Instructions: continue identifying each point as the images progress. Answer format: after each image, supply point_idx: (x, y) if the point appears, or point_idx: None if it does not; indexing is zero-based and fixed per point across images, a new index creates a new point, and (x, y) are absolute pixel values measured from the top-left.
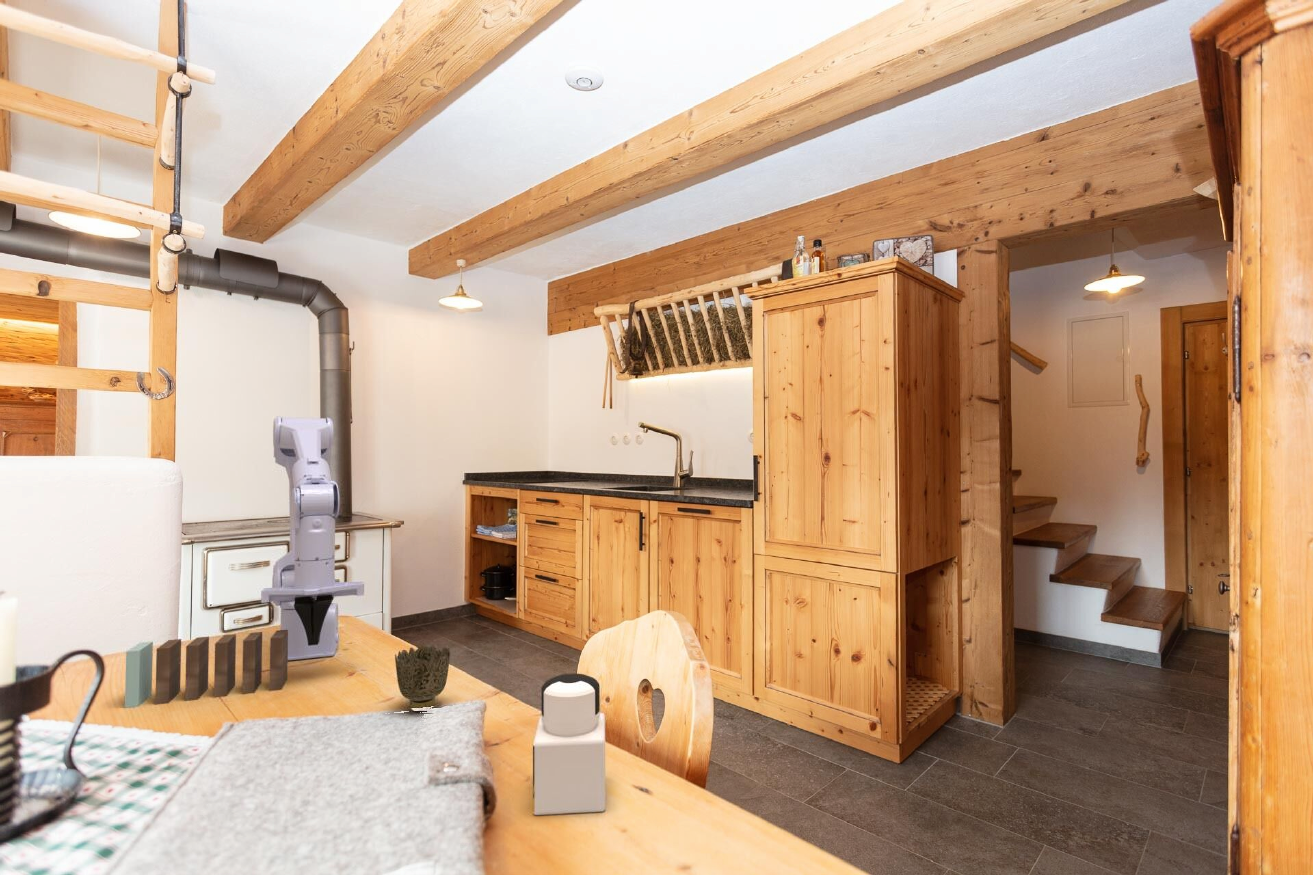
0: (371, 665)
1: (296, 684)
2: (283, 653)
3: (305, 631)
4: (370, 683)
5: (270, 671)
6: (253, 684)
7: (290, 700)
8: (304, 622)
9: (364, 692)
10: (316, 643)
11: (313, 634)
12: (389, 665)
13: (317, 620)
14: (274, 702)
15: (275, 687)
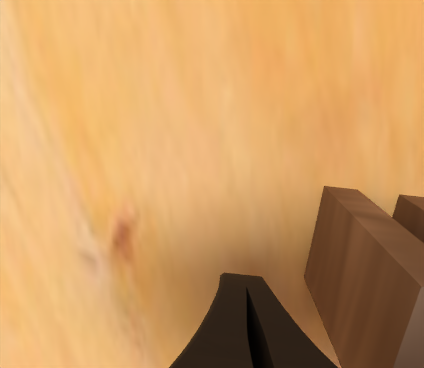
0: (68, 292)
1: (280, 215)
2: (361, 268)
3: (292, 319)
4: (56, 107)
5: (385, 213)
6: (417, 203)
7: (303, 53)
8: (316, 358)
9: (67, 11)
10: (227, 276)
11: (245, 300)
12: (13, 267)
13: (225, 351)
14: (351, 58)
15: (344, 191)
